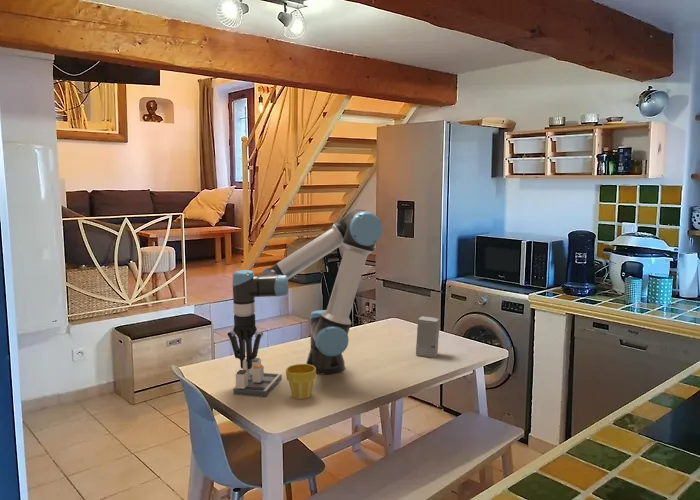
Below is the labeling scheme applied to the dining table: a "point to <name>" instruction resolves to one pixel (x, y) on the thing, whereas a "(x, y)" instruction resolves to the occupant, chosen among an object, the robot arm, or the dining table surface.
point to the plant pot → (301, 380)
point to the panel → (259, 386)
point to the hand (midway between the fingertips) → (246, 377)
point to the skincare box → (427, 336)
